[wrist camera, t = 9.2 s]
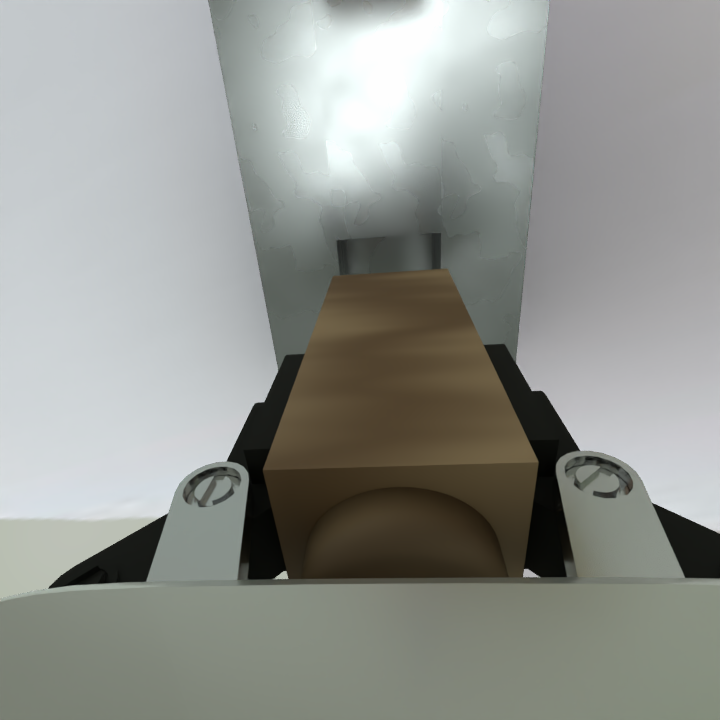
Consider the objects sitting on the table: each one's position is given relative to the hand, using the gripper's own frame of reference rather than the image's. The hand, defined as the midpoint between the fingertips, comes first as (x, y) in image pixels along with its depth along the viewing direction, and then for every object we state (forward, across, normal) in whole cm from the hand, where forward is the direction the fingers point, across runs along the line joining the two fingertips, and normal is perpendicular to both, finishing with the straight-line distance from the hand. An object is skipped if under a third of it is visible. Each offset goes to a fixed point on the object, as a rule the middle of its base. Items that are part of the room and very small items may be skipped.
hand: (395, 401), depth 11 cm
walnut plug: (+5, 0, 0) cm, 5 cm away
